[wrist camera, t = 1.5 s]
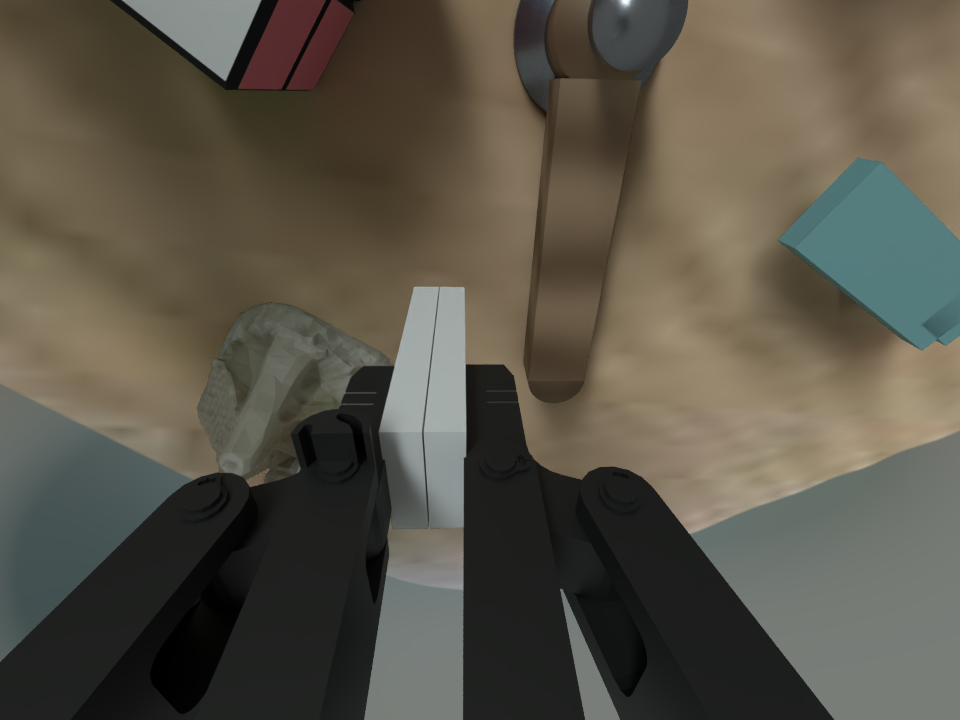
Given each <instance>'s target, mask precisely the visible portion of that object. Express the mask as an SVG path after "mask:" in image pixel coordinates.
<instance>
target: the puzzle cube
mask: <svg viewBox="0 0 960 720" xmlns="http://www.w3.org/2000/svg"><path fill="white" fill-rule="evenodd" d="M111 1H112V2H113V3H115V4H116V5H117V6H118V7H120V8H121V9H122V10H124V11H125V12H126V13H127V14H129V15H130V16H131V17H133V18H134V19H135V20H137V21H138V22H139V23H140V24H142V25H143V26H144V27H146V28H147V29H148V30H149V31H151V32H152V33H153V34H155V35H156V36H157V37H158V38H160V39H161V40H162V41H164V42H165V43H166V44H167V45H169V46H170V47H171V48H173V49H174V50H175V51H177V52H178V53H179V54H180V55H182V56H183V57H184V58H186V59H187V60H188V61H189V62H191V63H192V64H193V65H195V66H196V67H197V68H198V69H200V70H201V71H202V72H204V73H205V74H206V75H207V76H209V77H210V78H211V79H213V80H214V81H215V82H217V83H218V84H219V85H220V86H222V87H223V88H224V89H226V90H277V91H306V90H314V88H315V86H316V84H317V83H318V81H319V79H320V77H321V75H322V73H323V71H324V69H325V68H326V66H327V64H328V62H329V60H330V58H331V56H332V54H333V52H334V51H335V49H336V47H337V45H338V43H339V41H340V39H341V37H342V36H343V34H344V32H345V30H346V28H347V26H348V24H349V22H350V21H351V19H352V17H353V15H354V13H355V12H354V7H353V2H352V1H360V0H111Z"/></svg>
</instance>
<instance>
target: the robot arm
mask: <svg viewBox="0 0 960 720" xmlns="http://www.w3.org/2000/svg"><path fill="white" fill-rule="evenodd" d="M291 437H292V441H293V444H294V448H295V451H296V454H297V458H298V461H299V465H300V468H301V469H300V471H299V472H298V473H296V474H294V475H292V476H289V477H287V478H284V479H281V480H277V481H273V482H269V483H265V484H261V485H257V486H253V487H249V485H248V483H247V482H246V480H245V479H244V477H241V476H239V475H236V474H234V473H214V474H210V475H206V476H202V477H200V478H198V479H195V480H193V481H191V482H190V483H187V484H185V485H183V486H182V487H181V488H180V489H178V490H177V491H176V492H174V493H173V494H172V495H171V496H170V497H168V498H167V499H166V500H165V501H164V502H163V503H162V504H161V505H160V506H159V507H158V508H157V509H156V510H155V511H154V512H153V513H152V514H151V515H150V516H149V517H148V518H147V519H146V520H145V521H144V522H143V523H142V524H141V525H140V526H139V527H138V528H137V529H136V530H135V531H134V532H133V533H132V534H131V535H130V536H128V537H127V538H126V539H125V541H123V542H122V543H121V544H120V545H119V546H118V547H117V548H116V549H115V550H114V551H113V552H112V553H111V554H110V555H109V556H108V557H107V558H106V559H105V560H104V561H103V562H102V563H101V564H100V565H99V566H98V567H97V568H96V569H95V570H94V571H93V572H92V573H91V574H90V575H89V576H88V577H87V578H86V579H85V580H84V581H82V582H81V583H80V585H78V586H77V588H75V589H74V590H73V591H72V592H71V593H70V594H69V595H68V596H67V597H66V598H65V599H64V600H63V601H62V602H61V603H60V604H59V605H58V606H57V607H56V608H55V609H54V610H53V611H52V612H51V613H50V614H49V615H48V616H47V617H46V618H45V619H44V620H43V621H42V622H41V623H40V624H39V625H38V626H37V627H35V628H34V629H33V630H32V631H31V632H30V633H29V634H28V635H27V636H26V637H25V638H24V639H23V640H22V641H21V642H20V643H19V644H18V645H17V646H16V647H15V648H14V649H13V650H12V651H11V652H10V653H9V654H8V655H7V656H6V657H5V658H4V659H3V660H2V661H1V662H0V720H364V717H365V710H366V702H367V697H368V690H369V684H370V677H371V670H372V663H373V657H374V651H375V644H376V637H377V631H378V624H379V617H380V611H381V604H382V598H383V591H384V585H385V578H386V572H387V565H388V558H389V546H388V538H387V534H388V528H389V523H390V517H391V523H392V529H426V528H428V526H429V523H430V528H464V610H463V611H464V614H463V616H464V618H463V619H464V621H463V622H464V623H463V625H464V628H463V632H464V633H463V638H464V640H463V653H464V654H463V720H585V717H584V712H583V707H582V701H581V697H580V691H579V686H578V681H577V675H576V670H575V665H574V660H573V654H572V649H571V644H570V639H569V634H568V629H567V623H566V618H565V613H564V607H563V603H562V597H561V592H560V588H561V589H563V591H564V593H565V595H566V598H567V600H568V602H569V604H570V607H571V609H572V611H573V613H574V616H575V618H576V620H577V623H578V625H579V627H580V629H581V631H582V634H583V636H584V638H585V641H586V643H587V645H588V647H589V650H590V652H591V654H592V656H593V659H594V661H595V663H596V665H597V668H598V670H599V672H600V675H601V677H602V679H603V681H604V684H605V686H606V688H607V690H608V692H609V695H610V697H611V699H612V701H613V704H614V706H615V708H616V711H617V713H618V715H619V717H620V720H834V719H833V718H832V716H831V715H830V714H829V713H828V711H827V710H826V709H825V707H824V706H823V705H822V704H821V702H820V701H819V700H818V698H817V697H816V696H815V695H814V693H813V692H812V691H811V689H810V688H809V687H808V686H807V684H806V683H805V682H804V680H803V679H802V678H801V677H800V675H799V674H798V673H797V672H796V670H795V669H794V668H793V666H792V665H791V664H790V663H789V661H788V660H787V659H786V658H785V656H784V655H783V654H782V652H781V651H780V650H779V648H778V647H777V646H776V645H775V643H774V642H773V641H772V639H771V638H770V637H769V636H768V634H767V633H766V632H765V631H764V629H763V628H762V627H761V625H760V624H759V623H758V622H757V620H756V619H755V618H754V616H753V615H752V614H751V613H750V611H749V610H748V609H747V608H746V606H745V605H744V604H743V602H742V601H741V600H740V599H739V597H738V596H737V595H736V593H735V592H734V591H733V589H732V588H731V587H730V586H729V585H728V583H727V582H726V581H725V579H724V578H723V577H722V575H721V574H720V573H719V572H718V570H717V569H716V568H715V566H714V565H713V564H712V563H711V562H710V560H709V559H708V558H707V556H706V555H705V554H704V552H703V551H702V550H701V549H700V547H699V546H698V545H697V543H696V542H695V541H694V540H693V538H692V537H691V536H690V534H689V533H688V532H687V531H686V529H685V528H684V527H683V525H682V524H681V523H680V522H679V520H678V519H677V518H676V516H675V515H674V514H673V513H672V511H671V510H670V509H669V507H668V506H667V505H666V504H665V502H664V501H663V500H662V499H661V497H660V496H659V495H658V493H657V492H656V491H655V490H654V488H653V487H652V486H651V485H650V484H649V483H647V482H646V481H645V480H644V479H643V478H642V477H640V476H638V475H637V474H635V473H633V472H631V471H629V470H626V469H621V468H617V467H599V468H597V469H595V470H592V471H590V472H588V474H587V475H586V476H585V477H584V478H583V479H582V480H580V479H576V478H572V477H568V476H564V475H560V474H557V473H555V472H552V471H550V470H548V469H546V468H544V467H543V466H541V465H540V464H539V463H538V462H536V461H535V460H534V459H533V457H532V455H531V454H530V453H529V451H528V448H527V446H526V440H525V435H524V429H523V424H522V418H521V413H520V407H519V403H518V396H517V392H516V385H515V380H514V376H513V375H512V373H511V372H510V371H509V370H508V369H507V368H506V367H505V366H504V365H465V287H440V291H439V287H414V290H413V294H412V298H411V302H410V306H409V310H408V314H407V318H406V322H405V326H404V331H403V335H402V339H401V343H400V347H399V351H398V355H397V359H396V363H395V366H363V367H362V368H361V369H360V370H358V371H357V372H356V373H355V374H354V375H353V376H352V377H351V378H350V381H349V383H348V386H347V388H346V391H345V394H344V396H343V398H342V401H341V406H339V409H332V410H325V411H322V412H319V413H317V414H314V415H311V416H309V417H308V418H306V419H305V420H303V421H302V422H300V423H299V424H298V425H297V426H296V427H295V429H294V430H293V431H292V433H291Z"/></svg>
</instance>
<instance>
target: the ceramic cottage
mask: <svg viewBox="0 0 960 720" xmlns="http://www.w3.org/2000/svg"><path fill="white" fill-rule="evenodd" d="M219 357H220V358H219V359H216V358H214V359H213V361H212V369H211V371H210V374H209V378H208V383H207V386H206V388H205V390H204V392H203V394H202V396H201V400H200V402H199V404H198V407H197V409H198V417H199V419H200V421H201V422H200V423H201V425H202V426H203V427H204V429H205V431H206V433H207V434H208V436H209V440H210V443H211V445H212V448H213V449H214V451H215V452H216V453H217V459H216V462H217V463H218V464H219V473H234V474H236V475H239V476H241V477H244V479H245V480H246V479H249V478H251V477H253V476H255V475H256V474H258V473H260V472H262V471H264V470H266V469H267V468H268V467H269V470H270V471H269V472H268V473H267V474H266V477H265V480H264V484H265V483H269V482H273V481H277V480H281V479H284V478H287V477H289V476H292V475H294V474H296V473H298V472H299V471H300V469H301V468H300V465H299V461H298V458H297V454H296V451H295V448H294V444H293V441H292V437H291V433H292V431H293V430H294V429H295V427H296V426H297V425H298V424H299V423H300V422H302V421H303V420H305V419H306V418H308V417H309V416H311V415H314V414H317V413H319V412H322V411H325V410H332V409H339V406H341V401H342V398H343V396H344V394H345V391H346V388H347V386H348V383H349V381H350V378H351V377H352V376H353V375H354V374H355V373H356V372H357V371H358V370H360V369H361V368H362V367H363V366H394V365H393V363H392V362H391V361H390V360H389V359H388V358H387V357H386V356H385V355H383V354H381V353H380V351H378V350H376V349H374V348H371V347H370V346H368V345H366V344H364V343H362V342H360V341H357V340H355V339H354V338H353V337H350V336H348V335H346V334H345V333H343V332H342V331H341V330H339V329H337V328H336V327H334V326H332V325H329V324H326V323H325V322H323V321H321V320H320V319H318V318H316V317H314V316H312V315H310V314H308V313H306V312H304V311H303V310H301V309H299V308H297V307H294V306H291V305H286V304H277V303H272V302H271V303H265V304H262V305H259V306H256V307H252V308H250V309H248V310H247V311H246V312H243V313H240V315H239V317H238V319H237V320H236V321H235V323H234V324H233V326H232V327H231V329H230V331H229V334H228V335H227V337H226V339H225V341H224V343H223V345H222V347H221V349H220V351H219Z"/></svg>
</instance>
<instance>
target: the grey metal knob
mask: <svg viewBox="0 0 960 720" xmlns="http://www.w3.org/2000/svg"><path fill="white" fill-rule="evenodd" d="M553 2H554V0H520V3H519V6H518V9H517V14H516V19H515V26H514V55H515V61H516V66H517V70H518V73H519V76H520V79H521V81H522V83H523V85H524V87H525V89H526V91H527V92H528V94H529V95H530V97H531V98H532V99H533V100H534V101H535V103H536V104H537V105H538V106H540V107H541V108H542V109H543V110H544V111H546V112H547V102H548V92H549V81H550V79H558V78H557V77H556V76H555V75H554V73H553V72H552V70H551V68H550V66H549V63H548V61H547V57H546V53H545V46H544V32H545V25H546V21H547V17H548V14H549V11H550V9H551V6H552V4H553ZM687 8H688V0H591V4H590V7H589V13H588V22H587V26H588V37H589V41H590V45H591V47H592V50H593V52H594V54H595V55H596V57H597V58H598V59H599V61H600V62H601V63H602V64H603V65H605V66H606V67H608V68H610V69H612V70H615V71H619V72H631V71H638V70H642V69H643V70H642V71H641V72H640V73H639V74H638V75H637V76H636V77H635V78H634V79H633V80H637V81H641V86H640V90H641V89H642V87H643V86H644V85H645V83H646V82H647V80H648V79H649V77H650V75H651V74H652V72H653V70H654V68H655V66H656V64H657V62H658V61H659V60H660V59H661V58H663V57H664V56H665V55H666V54H667V53H668V51H669V50H670V49H671V48H672V46H673V45H674V43H675V42H676V40H677V38H678V37H679V34H680V32H681V30H682V28H683V25H684V22H685V18H686V14H687Z"/></svg>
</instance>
